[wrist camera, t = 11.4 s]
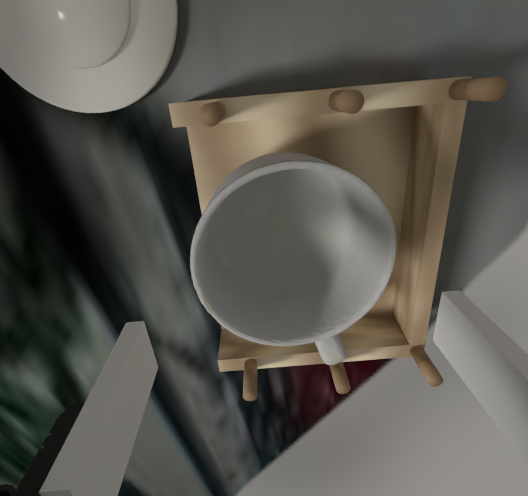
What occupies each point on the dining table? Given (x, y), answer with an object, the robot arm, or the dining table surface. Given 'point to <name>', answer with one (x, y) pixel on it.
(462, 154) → the dining table surface
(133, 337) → the robot arm
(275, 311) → the teacup
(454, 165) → the rack
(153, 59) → the saucer
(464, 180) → the dining table surface
